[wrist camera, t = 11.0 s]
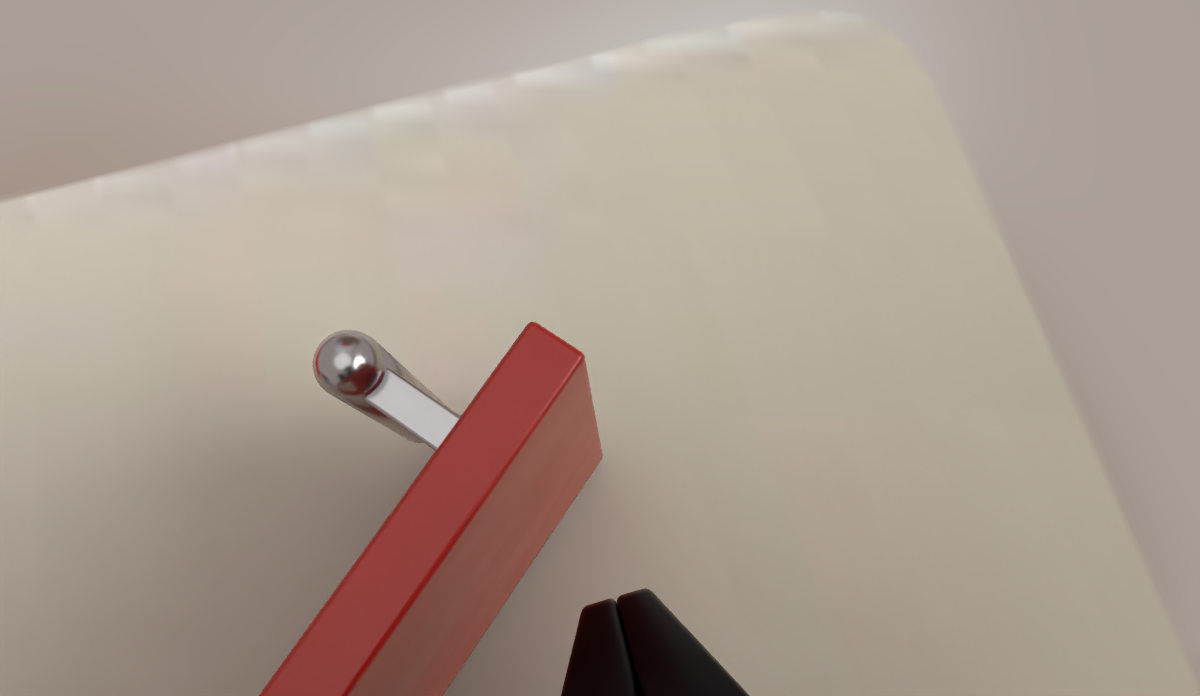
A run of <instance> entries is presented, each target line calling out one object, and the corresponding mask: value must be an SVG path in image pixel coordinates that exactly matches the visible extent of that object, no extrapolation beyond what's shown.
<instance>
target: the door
mask: <svg viewBox="0 0 1200 696" xmlns="http://www.w3.org/2000/svg"><path fill="white" fill-rule="evenodd" d="M313 371H314V376H315V378H316V380H317V382H318V383H319V385H320V386H321V387H322V388H323V389H324V390H325V391H326V392H327V393H329V394H331V395H332V396H334V397H336V398H338V399H339V400H341V401H343V402H344V403H346V404H348V405H349V406H351V407H353V408H355V409H356V410H358V411H360V412H361V413H363V414H365V415H366V416H368V417H370V418H372V419H373V420H375V421H377V422H378V423H380V424H382V425H383V426H385V427H387V428H389V429H390V430H392V431H394V432H395V433H397V434H399V435H400V436H402V437H404V438H406V439H407V440H409V441H411V442H415V443H426V444H427V445H428V446H430V447H431V448H433V449H434V450H436V451H435V453H434V454H433V455H432V457H431V458H430V460H429V461H428V462H427V464H426V465H425V467H424V468H423V469H422V471H421V472H420V473H419V475H418V476H417V478H416V479H415V480H414V482H413V483H412V484H411V486H410V487H409V489H408V490H407V491H406V493H405V494H404V496H403V497H402V498H401V500H400V501H399V502H398V504H397V505H396V507H395V508H394V509H393V511H392V512H391V514H390V515H389V516H388V518H387V519H386V520H385V522H384V523H383V525H382V526H381V527H380V529H379V530H378V531H377V533H376V534H375V536H374V537H373V538H372V540H371V541H370V543H369V544H368V545H367V547H366V548H365V549H364V551H363V552H362V554H361V555H360V556H359V558H358V559H357V561H356V562H355V563H354V565H353V566H352V567H351V569H350V570H349V572H348V573H347V574H346V576H345V577H344V579H343V580H342V581H341V583H340V584H339V585H338V587H337V588H336V590H335V591H334V592H333V594H332V595H331V596H330V598H329V599H328V601H327V602H326V603H325V605H324V606H323V608H322V609H321V610H320V612H319V613H318V614H317V616H316V617H315V619H314V620H313V621H312V623H311V624H310V626H309V627H308V628H307V630H306V631H305V632H304V634H303V635H302V637H301V638H300V639H299V641H298V642H297V643H296V645H295V646H294V648H293V649H292V650H291V652H290V653H289V655H288V656H287V657H286V659H285V660H284V661H283V663H282V664H281V666H280V667H279V668H278V670H277V671H276V673H275V674H274V675H273V677H272V678H271V679H270V681H269V682H268V684H267V685H266V686H265V688H264V689H263V690H262V692H261V693H260V695H259V696H442V695H443V694H444V692H445V691H446V689H447V688H448V686H449V685H450V683H451V682H452V681H453V679H454V678H455V676H456V675H457V673H458V672H459V670H460V669H461V667H462V666H463V664H464V663H465V661H466V660H467V658H468V657H469V655H470V654H471V652H472V651H473V649H474V648H475V646H476V645H477V643H478V642H479V640H480V639H481V637H482V636H483V634H484V633H485V631H486V630H487V628H488V627H489V626H490V624H491V623H492V621H493V620H494V618H495V617H496V615H497V614H498V612H499V611H500V609H501V608H502V606H503V605H504V603H505V602H506V600H507V599H508V597H509V596H510V594H511V593H512V591H513V590H514V588H515V587H516V585H517V584H518V582H519V581H520V579H521V578H522V576H523V575H524V573H525V572H526V570H527V569H528V568H529V566H530V565H531V563H532V562H533V560H534V559H535V557H536V556H537V554H538V553H539V551H540V550H541V548H542V547H543V545H544V544H545V542H546V541H547V539H548V538H549V536H550V535H551V533H552V532H553V530H554V529H555V527H556V526H557V524H558V523H559V521H560V520H561V518H562V517H563V515H564V514H565V513H566V511H567V510H568V508H569V507H570V505H571V504H572V502H573V501H574V499H575V498H576V496H577V495H578V493H579V492H580V490H581V489H582V487H583V486H584V484H585V483H586V481H587V480H588V478H589V477H590V475H591V474H592V472H593V471H594V469H595V468H596V466H597V465H598V463H599V462H600V460H601V459H602V451H601V445H600V440H599V434H598V429H597V423H596V418H595V412H594V406H593V401H592V395H591V390H590V384H589V379H588V373H587V368H586V362H585V357H584V355H583V353H582V352H581V351H579V350H578V349H576V348H575V347H573V346H571V345H570V344H568V343H567V342H565V341H564V340H562V339H561V338H559V337H558V336H556V335H555V334H553V333H551V332H550V331H548V330H547V329H545V328H544V327H542V326H541V325H539V324H538V323H535V322H530V323H529V324H527V325H526V327H525V328H524V330H523V331H522V332H521V334H520V335H519V337H518V338H517V339H516V341H515V342H514V343H513V345H512V346H511V348H510V349H509V350H508V352H507V353H506V355H505V356H504V357H503V359H502V360H501V361H500V363H499V364H498V366H497V367H496V368H495V370H494V371H493V372H492V374H491V375H490V377H489V378H488V379H487V381H486V382H485V384H484V385H483V386H482V388H481V389H480V390H479V392H478V393H477V395H476V396H475V397H474V399H473V400H472V402H471V403H470V404H469V406H468V407H467V408H466V410H465V411H464V413H463V414H462V415H461V416H460V415H458V414H457V413H455V412H454V411H452V410H451V409H449V408H448V407H447V406H445V405H444V404H443V403H442V402H441V400H440V399H439V398H437V397H436V396H435V395H434V394H433V393H432V392H431V391H430V390H429V389H428V388H426V387H425V386H424V385H423V384H422V383H421V382H420V381H419V380H418V379H417V378H416V377H414V376H413V375H412V374H411V373H410V372H409V371H408V370H407V369H406V368H405V367H403V366H402V365H401V364H400V363H399V362H398V361H397V360H396V359H395V358H394V357H392V356H391V355H390V354H389V353H388V352H387V351H386V350H385V349H384V348H383V347H381V346H380V345H379V344H378V343H377V342H376V341H375V340H374V339H373V338H371V337H370V336H368V335H366V334H364V333H362V332H359V331H355V330H344V331H339V332H335V333H333V334H331V335H329V336H328V337H327V338H325V339H324V340H323V341H322V342H321V343H320V344H319V346H318V347H317V349H316V351H315V354H314V357H313Z"/></svg>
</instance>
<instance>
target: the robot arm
mask: <svg viewBox="0 0 1200 696" xmlns="http://www.w3.org/2000/svg"><path fill="white" fill-rule="evenodd" d="M617 604H618V605H617ZM561 696H749V695H748V694H747V693H746V692H745V690H744V689H743V688H742V687H741V686H740V685H739V684H738V683H737V682H736V681H735V680H734V679H733V678H732V677H731V676H730V674H729V673H728V672H727V671H726V670H725V669H724V668H723V667H722V666H721V665H720V664H719V663H718V662H717V661H716V659H715V658H714V657H713V656H712V655H711V654H710V653H709V652H708V651H707V650H706V649H705V648H704V647H703V646H702V645H701V643H700V642H699V641H698V640H697V639H696V638H695V637H694V636H693V635H692V634H691V633H690V632H689V631H688V630H687V628H686V627H685V626H684V625H683V624H682V623H681V622H680V621H679V620H678V619H677V618H676V617H675V616H674V615H673V613H672V612H671V611H670V610H669V609H668V608H667V607H666V606H665V605H664V604H663V603H662V602H661V601H660V600H659V599H658V597H657V596H656V595H655V594H654V593H653V592H652V591H650V590H649V589H646V588H645V589H641V590H637V591H634V592H631V593H627V594H624V595H621V596H619V598H618V600H617V603H616V601H615V600H614V599H607V600H604V601H600V602H597V603H594V604H590V605H587V606H585V607H584V608H583V610H582V612H581V615H580V620H579V624H578V628H577V632H576V636H575V640H574V644H573V648H572V653H571V657H570V661H569V665H568V669H567V673H566V677H565V681H564V685H563V690H562V694H561Z"/></svg>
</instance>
